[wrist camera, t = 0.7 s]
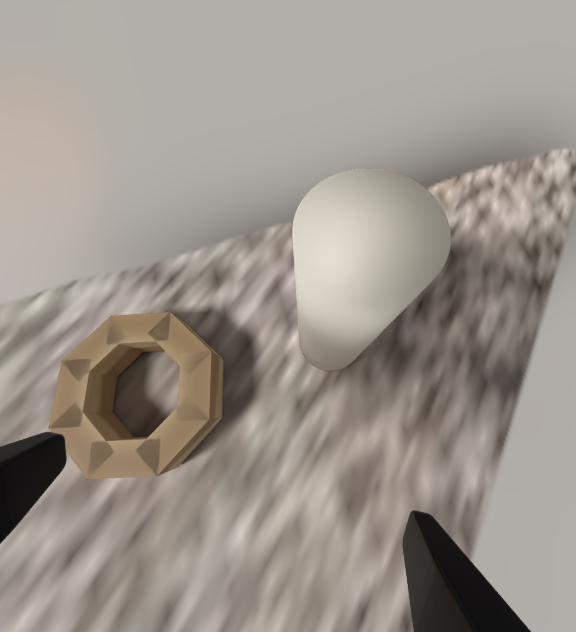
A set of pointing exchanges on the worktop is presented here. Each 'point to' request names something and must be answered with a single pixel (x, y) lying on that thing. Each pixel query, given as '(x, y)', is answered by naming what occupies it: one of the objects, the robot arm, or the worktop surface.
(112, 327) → the tan open ring
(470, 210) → the worktop surface
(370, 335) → the dowel
